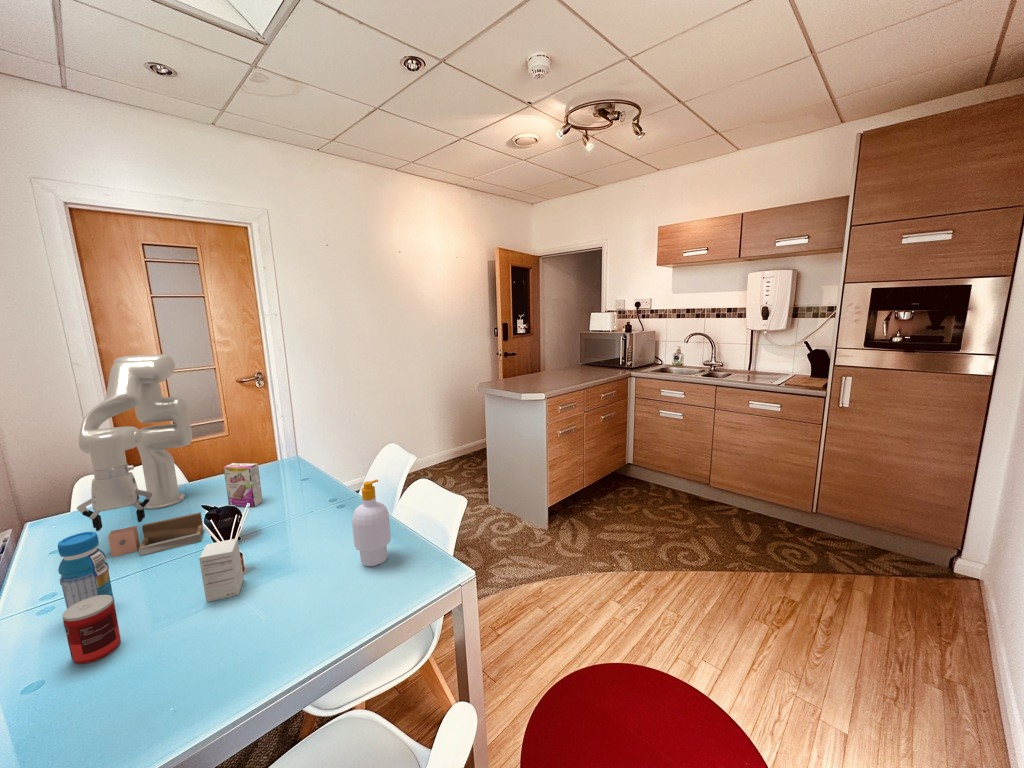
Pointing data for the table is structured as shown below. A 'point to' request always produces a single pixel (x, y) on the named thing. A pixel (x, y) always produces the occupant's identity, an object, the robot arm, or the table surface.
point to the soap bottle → (371, 527)
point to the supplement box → (221, 569)
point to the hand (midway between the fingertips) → (120, 524)
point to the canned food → (91, 628)
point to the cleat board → (171, 533)
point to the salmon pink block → (124, 541)
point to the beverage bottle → (83, 568)
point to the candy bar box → (243, 484)
